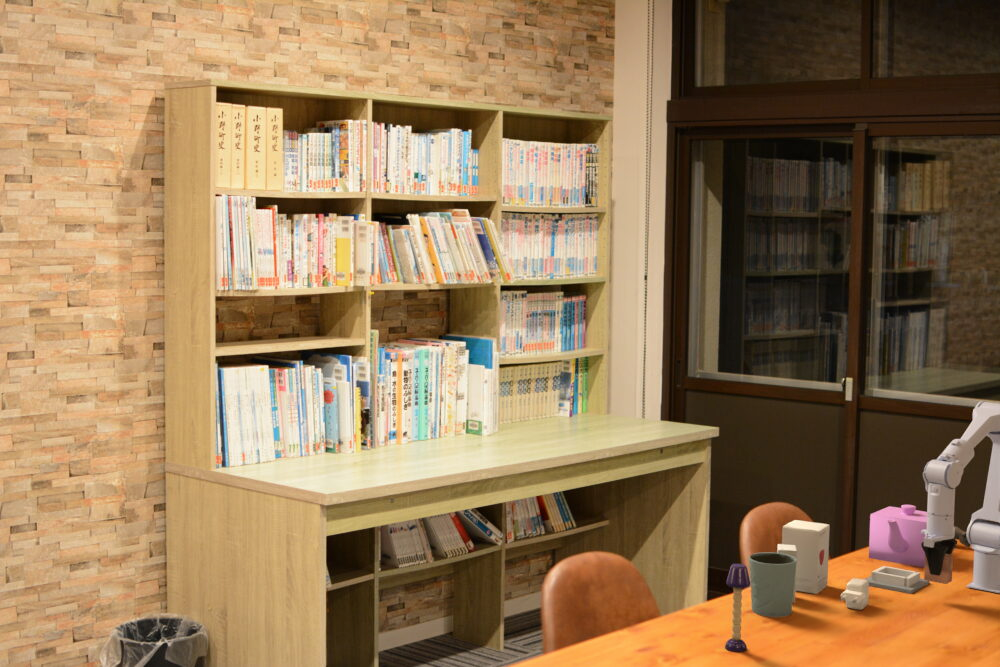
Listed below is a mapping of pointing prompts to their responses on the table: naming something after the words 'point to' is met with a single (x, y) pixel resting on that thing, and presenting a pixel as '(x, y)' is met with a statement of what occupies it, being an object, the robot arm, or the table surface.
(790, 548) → the skincare box
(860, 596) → the power adapter
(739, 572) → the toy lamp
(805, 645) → the table surface
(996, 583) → the robot arm
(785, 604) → the grey-green tapered cup
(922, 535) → the pink knobbed box
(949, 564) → the block
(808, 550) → the supplement box
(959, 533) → the rhino figurine
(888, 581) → the grey framed tray
